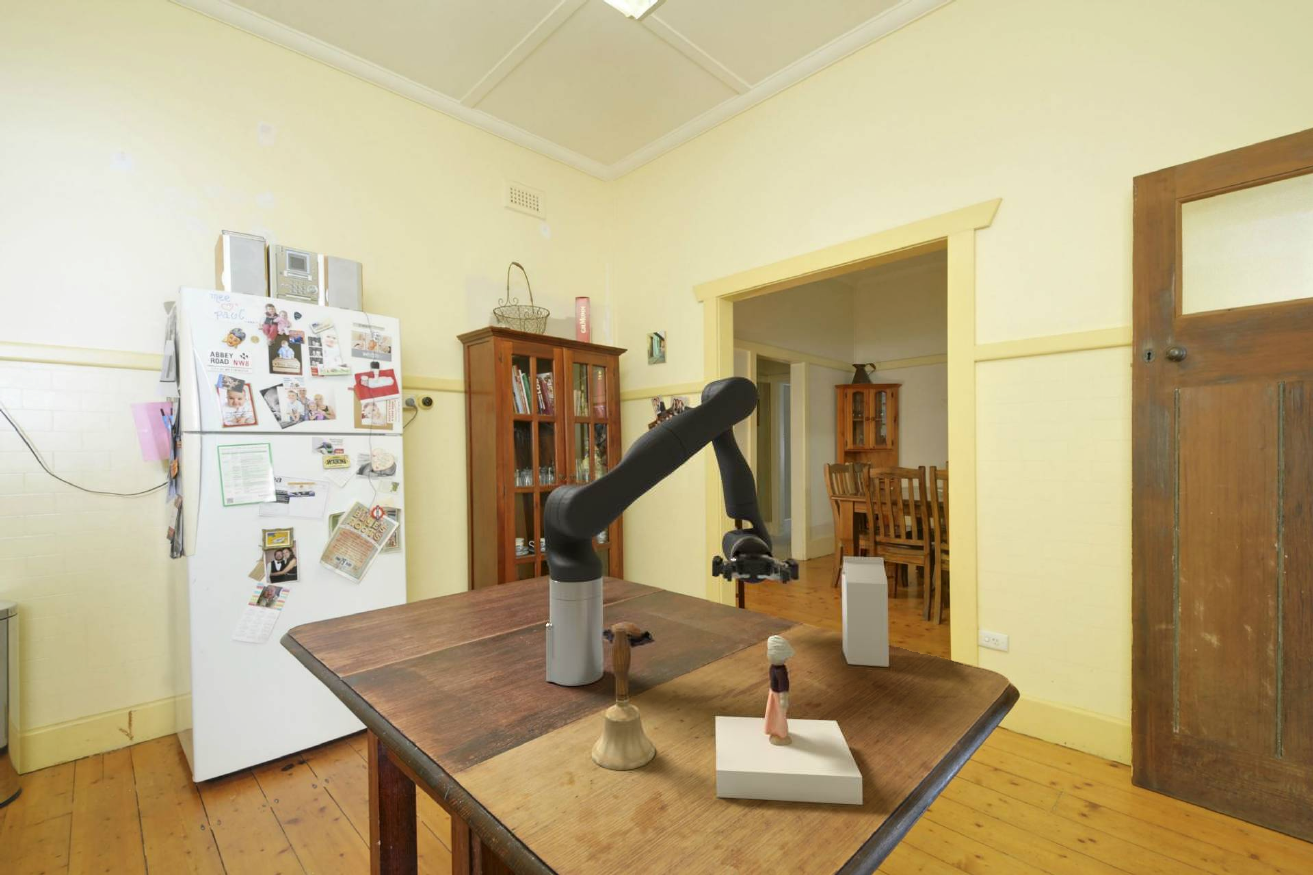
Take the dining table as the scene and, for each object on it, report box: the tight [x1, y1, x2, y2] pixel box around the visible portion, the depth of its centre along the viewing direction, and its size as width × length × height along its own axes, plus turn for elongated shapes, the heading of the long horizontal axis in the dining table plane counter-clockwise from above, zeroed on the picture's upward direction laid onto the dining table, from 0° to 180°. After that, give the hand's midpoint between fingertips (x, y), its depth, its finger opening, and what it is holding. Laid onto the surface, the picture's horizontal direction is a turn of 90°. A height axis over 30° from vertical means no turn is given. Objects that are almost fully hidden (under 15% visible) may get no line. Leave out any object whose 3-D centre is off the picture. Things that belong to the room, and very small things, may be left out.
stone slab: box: [715, 715, 864, 805], centre depth 69 cm, size 16×13×3 cm
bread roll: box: [603, 621, 654, 649], centre depth 118 cm, size 11×8×4 cm
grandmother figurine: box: [764, 634, 795, 745], centre depth 71 cm, size 8×4×13 cm, turn 6°
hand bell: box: [590, 628, 656, 771], centre depth 73 cm, size 8×8×16 cm
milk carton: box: [841, 555, 890, 668], centre depth 105 cm, size 7×7×19 cm
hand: (757, 576), depth 88 cm, fingers open, 8 cm apart
